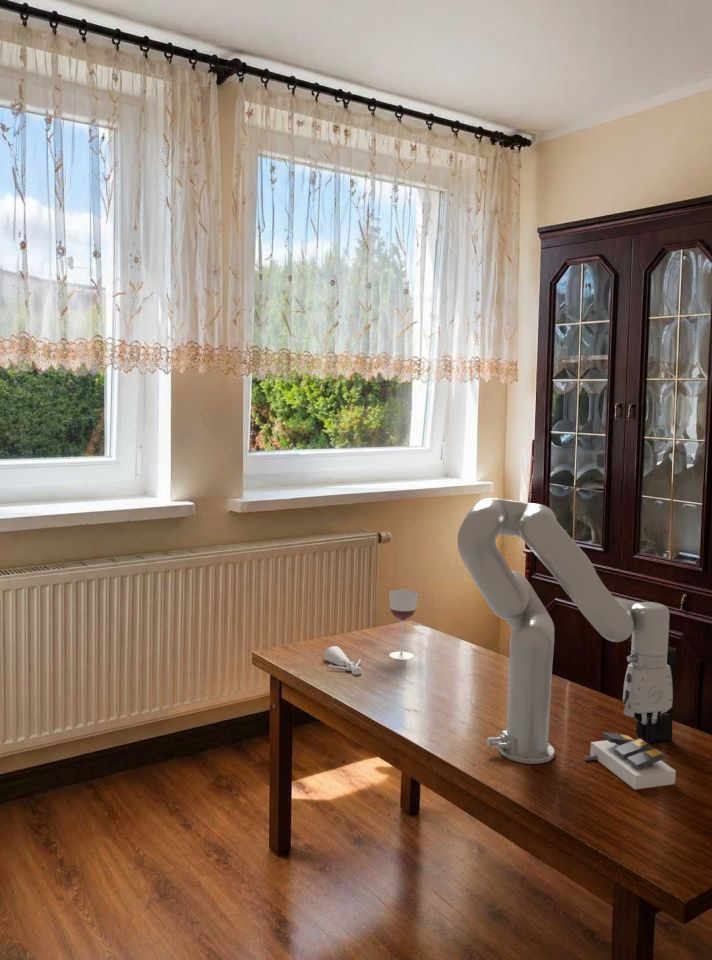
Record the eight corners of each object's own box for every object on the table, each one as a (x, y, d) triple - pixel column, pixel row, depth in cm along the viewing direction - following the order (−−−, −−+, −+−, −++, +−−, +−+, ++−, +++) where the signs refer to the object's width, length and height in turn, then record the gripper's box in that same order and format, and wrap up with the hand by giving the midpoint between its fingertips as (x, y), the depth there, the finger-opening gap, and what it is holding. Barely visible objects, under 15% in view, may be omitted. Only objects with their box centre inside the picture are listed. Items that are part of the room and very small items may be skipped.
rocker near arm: (609, 745, 188) (611, 737, 188) (600, 739, 191) (602, 731, 191) (635, 749, 190) (637, 741, 190) (625, 742, 193) (627, 734, 193)
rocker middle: (624, 762, 183) (623, 754, 183) (614, 755, 187) (613, 747, 186) (651, 752, 185) (650, 744, 185) (641, 745, 188) (640, 737, 188)
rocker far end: (638, 772, 179) (637, 764, 178) (628, 764, 182) (627, 756, 182) (666, 762, 180) (664, 753, 180) (655, 754, 184) (654, 746, 183)
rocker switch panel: (622, 791, 176) (623, 777, 175) (578, 755, 192) (579, 743, 192) (674, 784, 180) (675, 770, 179) (627, 750, 196) (628, 737, 195)
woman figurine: (345, 640, 258) (377, 662, 243) (344, 654, 259) (376, 676, 244) (312, 646, 252) (342, 668, 237) (311, 660, 253) (341, 683, 238)
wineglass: (385, 651, 262) (386, 589, 260) (411, 650, 264) (414, 589, 261) (390, 660, 254) (392, 596, 252) (418, 659, 256) (420, 595, 254)
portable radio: (645, 744, 199) (652, 643, 196) (630, 734, 205) (637, 635, 202) (673, 741, 201) (681, 641, 198) (658, 731, 207) (665, 633, 204)
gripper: (629, 667, 178) (625, 750, 180) (688, 661, 183) (684, 742, 185) (609, 656, 185) (605, 735, 187) (666, 651, 190) (662, 728, 192)
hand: (644, 738), depth 186 cm, fingers closed
